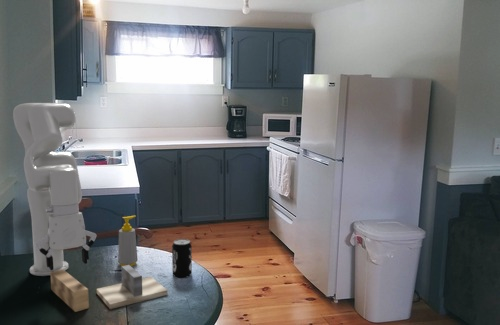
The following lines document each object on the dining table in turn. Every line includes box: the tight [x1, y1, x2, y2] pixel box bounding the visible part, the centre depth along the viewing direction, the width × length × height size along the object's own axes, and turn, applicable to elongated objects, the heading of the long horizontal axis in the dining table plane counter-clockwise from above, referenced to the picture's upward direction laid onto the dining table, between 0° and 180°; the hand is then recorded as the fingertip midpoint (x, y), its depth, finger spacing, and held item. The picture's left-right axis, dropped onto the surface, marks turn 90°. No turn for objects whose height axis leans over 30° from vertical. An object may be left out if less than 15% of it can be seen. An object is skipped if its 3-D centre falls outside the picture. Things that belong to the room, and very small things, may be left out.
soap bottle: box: [117, 215, 138, 267], centre depth 168 cm, size 7×7×18 cm
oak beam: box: [49, 270, 90, 313], centre depth 140 cm, size 20×4×6 cm, turn 41°
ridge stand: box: [96, 265, 168, 310], centre depth 143 cm, size 13×18×8 cm
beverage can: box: [171, 238, 193, 279], centre depth 159 cm, size 7×7×12 cm
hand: (68, 265), depth 138 cm, fingers open, 9 cm apart
